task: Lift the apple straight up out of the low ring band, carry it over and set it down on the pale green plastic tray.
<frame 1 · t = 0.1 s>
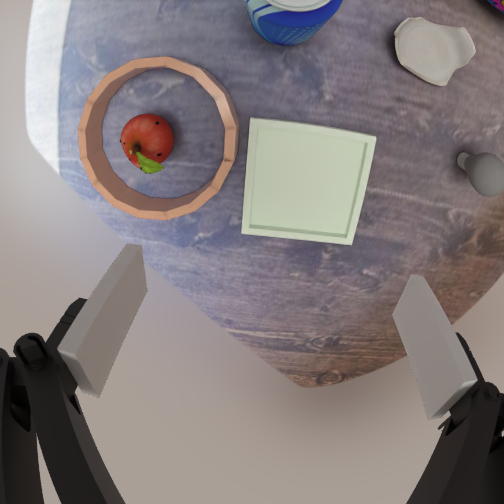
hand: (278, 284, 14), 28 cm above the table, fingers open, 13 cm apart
light bulb: (461, 159, 35), on the table
tray: (305, 181, 39), on the table
apple: (161, 134, 37), resting in ring band
ring band: (160, 134, 37), on the table
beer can: (284, 17, 28), on the table
pottery shard: (423, 52, 28), on the table
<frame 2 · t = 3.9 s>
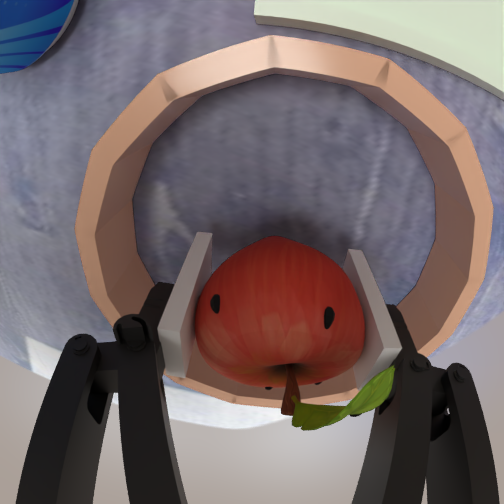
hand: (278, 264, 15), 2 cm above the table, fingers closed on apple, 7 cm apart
apple: (278, 257, 16), point 2 cm above the table, touching gripper
ring band: (287, 245, 17), on the table
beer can: (41, 11, 10), on the table
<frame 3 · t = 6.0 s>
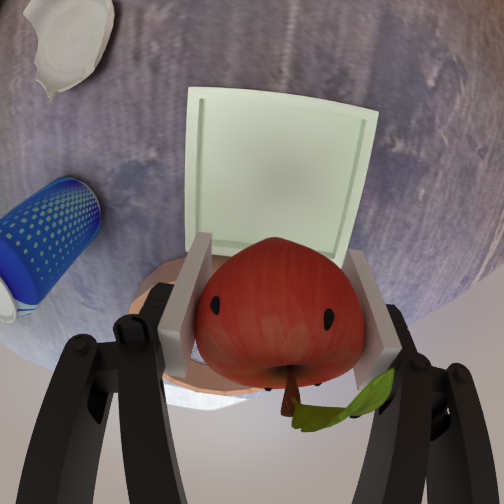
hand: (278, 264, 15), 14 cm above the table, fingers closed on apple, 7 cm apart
tray: (274, 177, 27), on the table
apple: (278, 258, 16), point 14 cm above the table, touching gripper
ring band: (215, 323, 38), on the table
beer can: (77, 206, 30), on the table
pottery shard: (83, 35, 20), on the table
when the fingers open (2 cm above the table, at t = 8.4 s): apple drops 1 cm, resting on tray.
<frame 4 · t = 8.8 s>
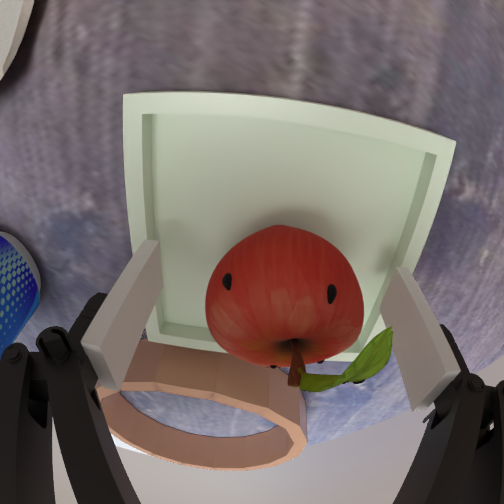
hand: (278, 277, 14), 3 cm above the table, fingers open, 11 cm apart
tray: (277, 241, 17), on the table
apple: (281, 246, 17), point 1 cm above the table, touching tray
ring band: (199, 403, 28), on the table
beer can: (14, 264, 20), on the table
pottery shard: (5, 26, 10), on the table
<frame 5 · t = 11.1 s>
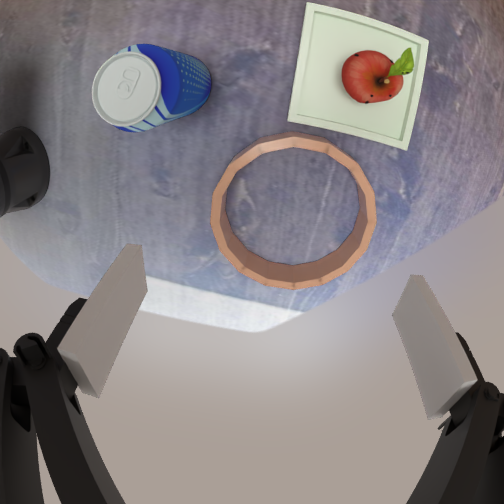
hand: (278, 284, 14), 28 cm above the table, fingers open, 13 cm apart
tray: (359, 75, 31), on the table
apple: (362, 75, 30), point 1 cm above the table, touching tray
ring band: (293, 207, 41), on the table
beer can: (182, 85, 34), on the table
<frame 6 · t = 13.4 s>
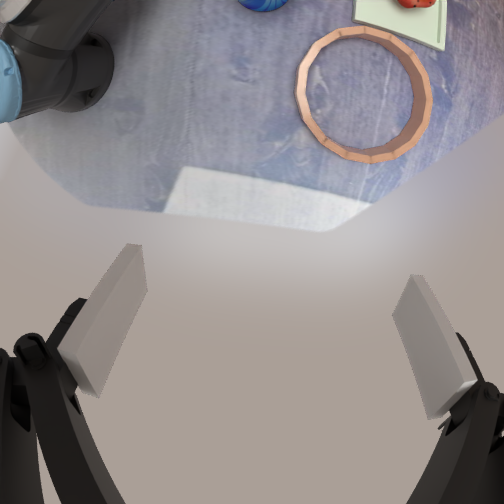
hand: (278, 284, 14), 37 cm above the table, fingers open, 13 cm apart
ring band: (361, 92, 40), on the table
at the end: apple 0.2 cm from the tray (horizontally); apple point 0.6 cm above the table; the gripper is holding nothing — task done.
